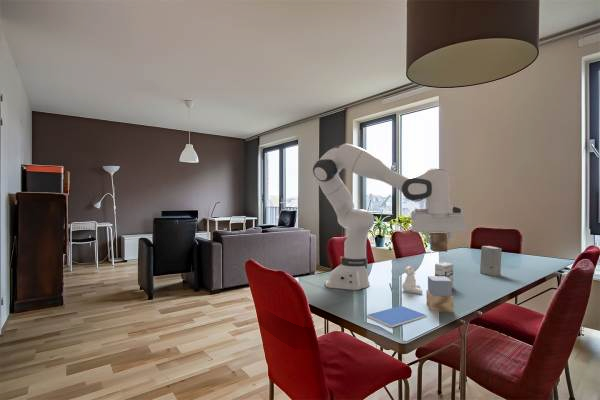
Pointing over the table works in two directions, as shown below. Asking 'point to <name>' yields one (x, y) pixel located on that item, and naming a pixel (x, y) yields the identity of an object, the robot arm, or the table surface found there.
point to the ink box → (444, 270)
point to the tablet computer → (396, 316)
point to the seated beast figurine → (411, 282)
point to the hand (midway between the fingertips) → (438, 243)
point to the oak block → (440, 303)
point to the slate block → (439, 286)
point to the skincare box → (490, 260)
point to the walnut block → (438, 241)
